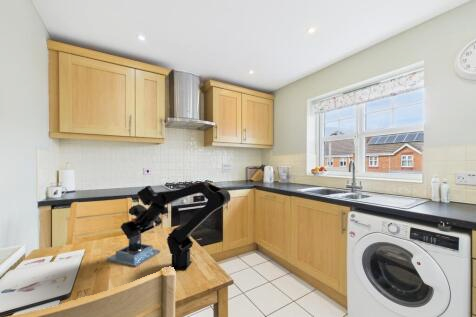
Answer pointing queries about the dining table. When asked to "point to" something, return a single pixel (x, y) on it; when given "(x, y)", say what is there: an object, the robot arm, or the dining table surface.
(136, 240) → the dark upright cylinder piece
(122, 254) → the flange socket
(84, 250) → the dining table surface
